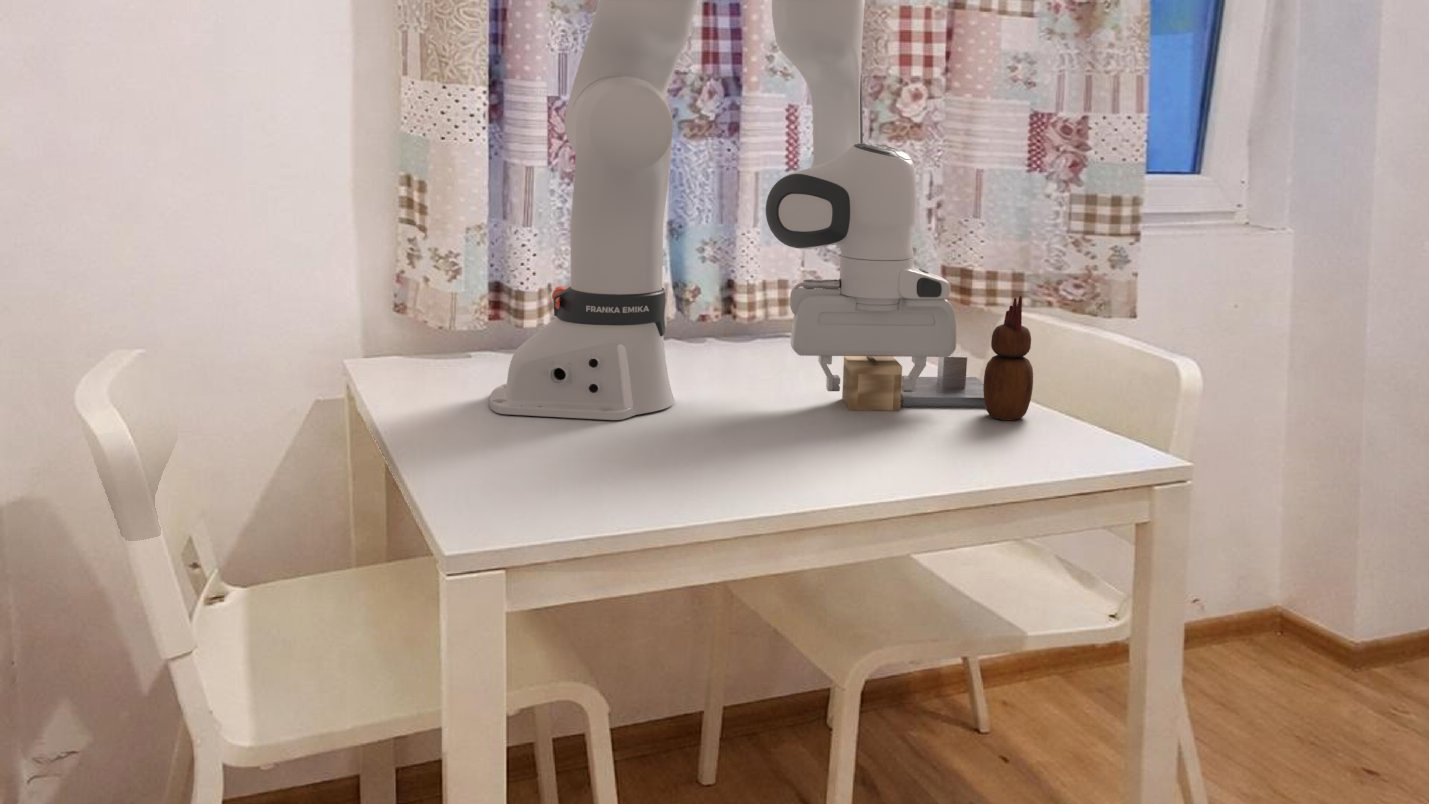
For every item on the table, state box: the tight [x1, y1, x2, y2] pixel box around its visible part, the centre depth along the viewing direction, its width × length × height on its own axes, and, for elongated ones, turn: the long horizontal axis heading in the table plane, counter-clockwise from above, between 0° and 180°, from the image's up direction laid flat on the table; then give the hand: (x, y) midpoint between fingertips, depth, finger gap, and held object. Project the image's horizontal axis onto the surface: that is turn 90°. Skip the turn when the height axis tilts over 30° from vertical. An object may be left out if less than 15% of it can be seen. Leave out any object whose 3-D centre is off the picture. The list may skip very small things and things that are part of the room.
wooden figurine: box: [983, 295, 1034, 421], centre depth 157 cm, size 7×6×15 cm
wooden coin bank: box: [841, 356, 903, 412], centre depth 163 cm, size 6×6×6 cm
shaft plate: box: [900, 352, 986, 408], centre depth 169 cm, size 12×12×5 cm
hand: (870, 390), depth 164 cm, fingers open, 8 cm apart
